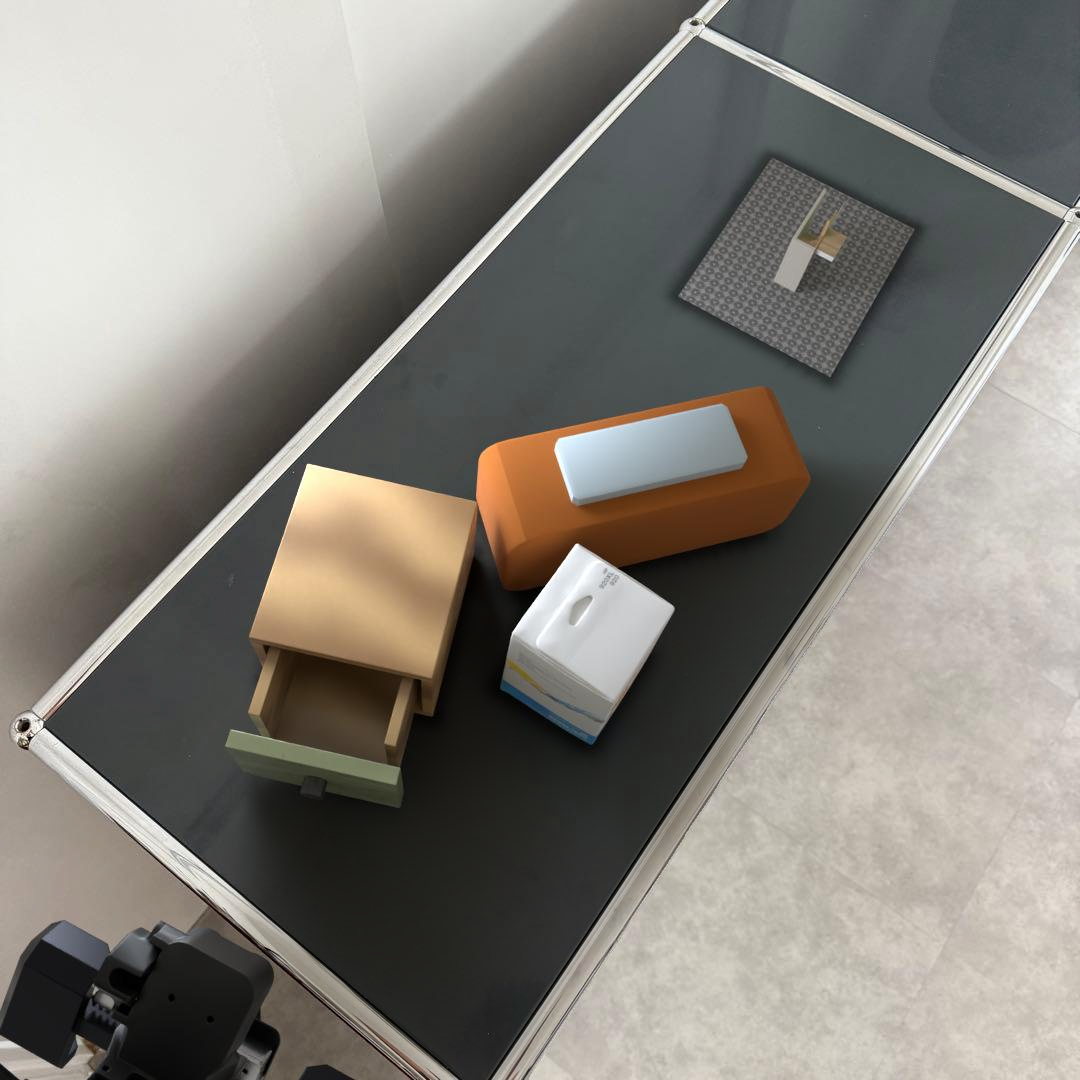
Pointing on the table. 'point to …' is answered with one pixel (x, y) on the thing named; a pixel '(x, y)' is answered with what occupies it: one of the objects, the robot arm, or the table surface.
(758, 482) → the alarm clock
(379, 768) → the drawer
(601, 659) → the ink box
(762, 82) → the table surface
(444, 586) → the cabinet
